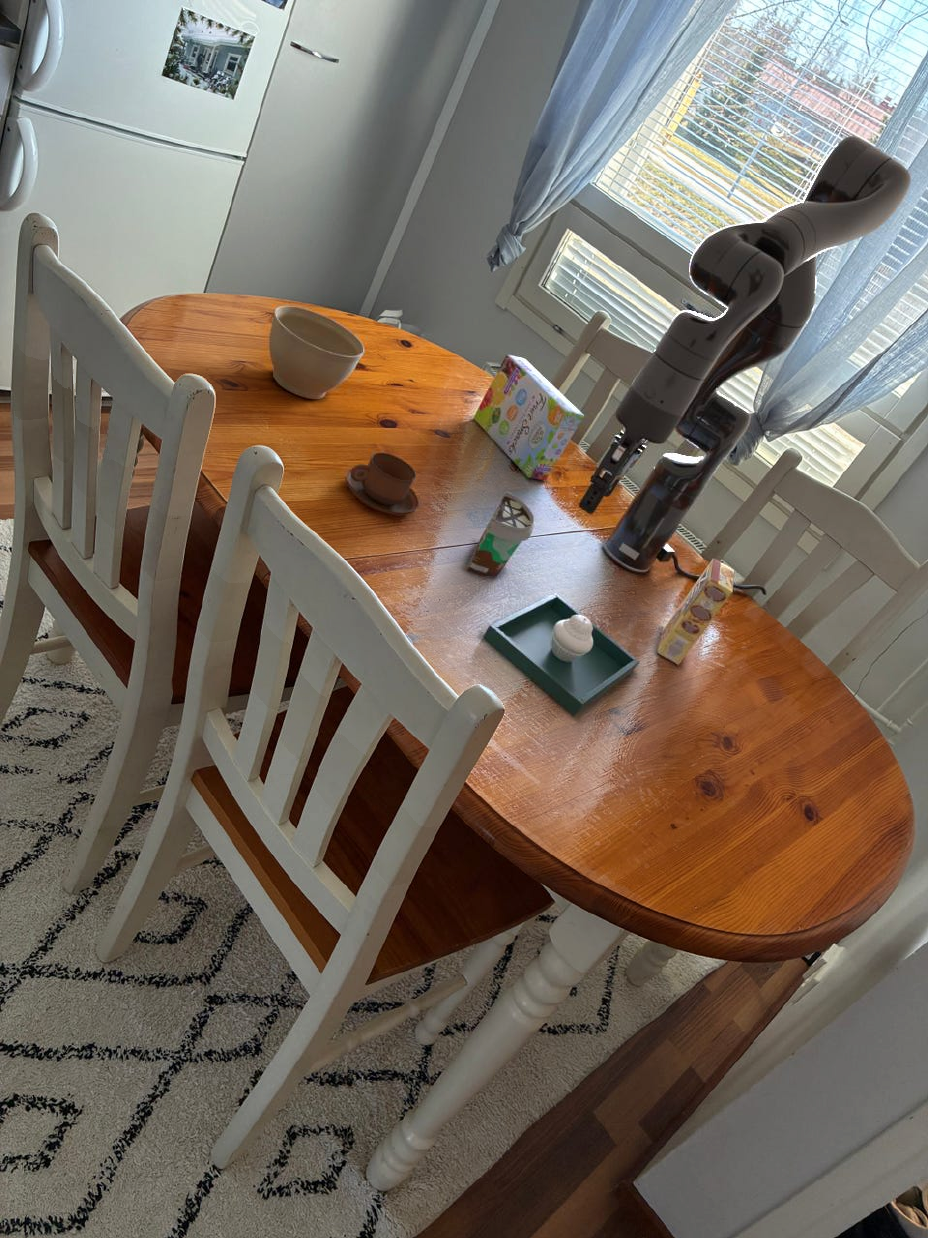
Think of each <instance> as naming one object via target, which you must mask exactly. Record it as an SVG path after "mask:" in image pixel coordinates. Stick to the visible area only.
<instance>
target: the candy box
mask: <svg viewBox="0 0 928 1238" xmlns="http://www.w3.org/2000/svg"><path fill="white" fill-rule="evenodd" d="M699 576H700V578H699V579H696V580H697V581H696V582H695V583H694V585H693V586H692V587H691V588H690V590H689V591H688V593H687V594H686V596H685V597H684V598H683V600H682V602H681V603H680V604H679V606H678V607H677V609H676V610H675V611H674V613H673V615H672V616H671V617H670V619H669V620H668V621H667V623H666V625H665V626H664V627H663V629H662V631H661V636H660V640H659V644H658V649H657V654H658V655H660V656H662V657H663V658H665V659H666V660H669V661H671V662H672V663H674V664H676V665H677V666H678V665H680V664H681V663H682V661H683V660H684V659H685V657H686V656H687V654H689V652H690V650H692V648H693V646H694V645H695V644H696V642H697V641H698V640H699V638H700V637H701V636H702V635H703V633H704V631H706V629H707V628H708V627H709V625H710V624H711V622H712V621H713V620H714V618H715V617H716V616H717V614H718V613H719V611H720V610H721V609H722V608H723V606H724V605H725V603H726V602H727V601H728V600H729V598H730V597H731V596H732V594H733V592H734V588H733V584H735V570H734V569H733V568H731V567H730V566H728V565H727V564H725V563H723V562H721V561H720V560H718V559H716V558H712V559H711V561H710V562H709V564H708V565H707V566H706V568H705V569H704V571H703V572H702V574H701V575H699Z"/></svg>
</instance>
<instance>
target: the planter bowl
mask: <svg viewBox="0 0 928 1238" xmlns="http://www.w3.org/2000/svg"><path fill="white" fill-rule="evenodd" d="M268 338H269V340H268V343H269V344H268V345H269V346H268V347H269V355H270V361H271V364H272V367H273V370H272V377H273V379H274V380H275V382H276V383H277V384H278V385H279V386H281V387H282V388H283V389H285V390H287V391H288V392H289V393H292V394H294V395H296V396H299V397H301V398H305V399H308V400H309V399H311V400H320V399H323V398H324V397H325V395H326V393H327V392H329V391H332V390H334V389H335V388H337V387H339V386H340V385H341V384H342V383H343V382H344V381H346V380H347V379H348V378H349V377H350V376H351V374H352V373H353V371H354V370H355V368H356V367H357V365H358V364H359V363H358V362H359V360H361V359H362V357H363V356H364V353H365V347H364V344H363V343H362V341H361V340H360V339H359V338H358V336H356V334H354V333H353V332H352V331H350V330H349V328H347V327H345V326H344V325H343V324H341V323H340V322H337V321H335V320H334V319H332V318H330V317H328V316H326V315H323V314H321V313H319V312H316V311H313V310H311V309H308V308H305V307H302V306H295V305H280V306H278V307H276V309H275V310H274V312H273V319H272V323H271V327H270V331H269V337H268Z"/></svg>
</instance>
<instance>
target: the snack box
mask: <svg viewBox="0 0 928 1238" xmlns="http://www.w3.org/2000/svg"><path fill="white" fill-rule="evenodd" d="M490 383H491V384H489V387H488V389H487V390H486V392H485V395H484V396H483V398H482V400H481V402H480V404H479V406H478V408H477V409H476V412H475V413H474V415H473V420H474V421H475V422H476V424H478V425H479V426H480V427H481V428H482V430H483V431H485V433H486V434H487V435H488V436H489V437H490V438H491V439H492V440H493V441H494V442H495V443H496V444H497V446H498V447H499V448H500V449H501V450H502V451H503V452H504V453H505V454H506V455H507V456H508V458H509V459H510V460H511V461H512V462H513V463H514V464H515V465H516V466H517V467H518V468H519V469H520V471H521V472H522V473H523V474H524V475H525V476H526V477H527V478H528V479H534V480H539V481H547V479H548V478H549V476H550V474H551V473H552V471H553V469H554V468H555V466H556V465H557V462H558V461H559V459H560V457H561V456H562V454H563V453H564V451H565V449H566V448H567V446H568V444H569V443H570V441H571V439H572V438H573V436H574V434H575V433H576V431H577V429H578V428H579V426H580V424H581V423H582V421H583V419H584V418H585V415H584V414H583V412H582V411H580V410H579V408H577V407H576V406H575V404H573V403H572V402H571V401H570V400H569V399H567V397H566V396H565V395H563V393H561V391H559V390H558V389H557V388H556V387H555V386H554V385H553V384H552V383H551V382H550V381H549V380H548V379H547V378H546V377H544V376H543V374H541V372H540V371H538V370H537V369H536V368H535V367H534V366H533V365H532V363H530V362H529V361H528V360H527V359H526V358H524V357H520V356H516V355H513V354H505V357H504V359H503V361H502V362H501V364H500V366H499V368H498V370H497V371H496V374H495V376H494V378H493V379H492V381H491V382H490Z"/></svg>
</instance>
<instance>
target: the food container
mask: <svg viewBox="0 0 928 1238" xmlns="http://www.w3.org/2000/svg"><path fill="white" fill-rule="evenodd" d="M534 525H535V517H534V514H533V512H532V511H531V509H530V508H529V507H528V505H526V504H525V502H523V501H522V499H520V498H518V497H517V496H516V495H514V494H513V493H511V492H510V491H507V490H506V491H505V493H504V494H503V497H502V498H501V500H500V502H499V504H498V506H497V508H496V509H495V511H494V513H493V515H492V516H491V519H490V520H489V522H488V524H487V526H486V527H485V530H484V531H483V533H482V534H481V537H480V539H479V540H478V542H477V544H476V546H475V548H474V551H473V554H472V556H471V558H470V561H469V563H468V566H467V568H466V571H468V572H470V573H472V574H475V575H478V576H481V577H488V578H492V577H497V576H498V575H499V574H500V573H501V572H502V571H503V569H504V568H505V567H506V565H507V563H508V562H509V560H510V559H511V557H512V556H513V555H514V553H515V552H516V551H517V549H518V547H519V546H520V545H521V543H522V542H524V541H527V540H529V539H530V537H531V536H532V532H533V529H534Z"/></svg>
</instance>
